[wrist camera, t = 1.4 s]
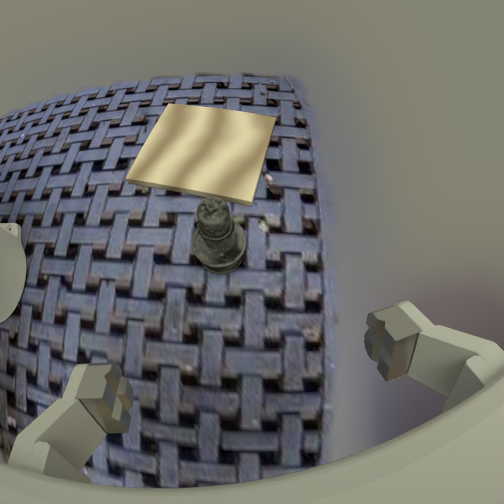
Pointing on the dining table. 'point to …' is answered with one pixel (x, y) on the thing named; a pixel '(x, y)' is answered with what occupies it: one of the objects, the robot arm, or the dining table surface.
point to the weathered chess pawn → (218, 237)
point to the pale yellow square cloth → (205, 153)
